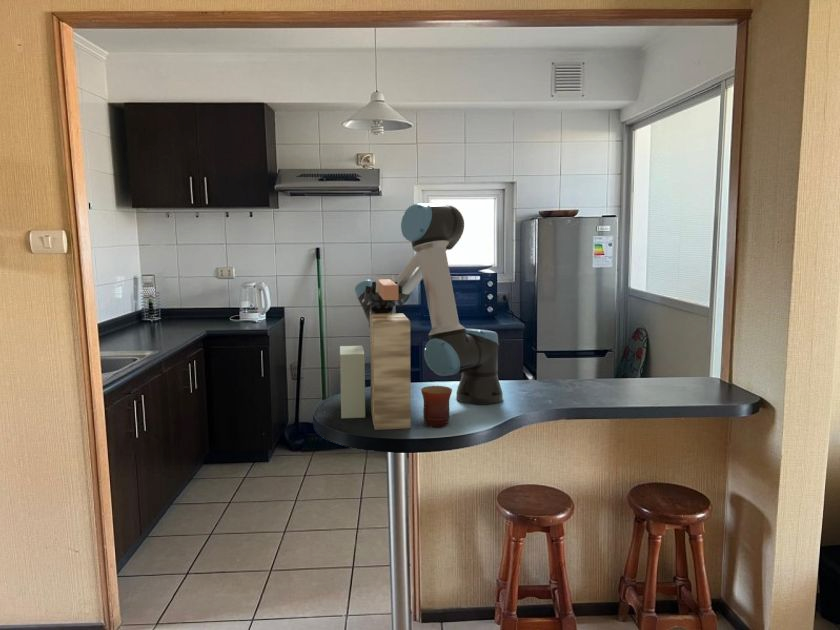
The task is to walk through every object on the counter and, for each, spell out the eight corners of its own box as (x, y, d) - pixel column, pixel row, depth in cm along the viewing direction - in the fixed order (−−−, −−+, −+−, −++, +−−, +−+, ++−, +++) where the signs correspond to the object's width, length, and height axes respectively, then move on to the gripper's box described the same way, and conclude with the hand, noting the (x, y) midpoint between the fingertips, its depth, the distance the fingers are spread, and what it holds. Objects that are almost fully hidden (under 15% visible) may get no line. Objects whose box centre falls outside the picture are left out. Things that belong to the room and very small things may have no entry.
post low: (340, 405, 190) (340, 346, 187) (363, 404, 191) (362, 345, 188) (341, 418, 176) (340, 354, 174) (365, 417, 177) (364, 354, 175)
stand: (370, 411, 183) (369, 313, 179) (403, 410, 185) (403, 313, 181) (374, 429, 166) (373, 322, 162) (410, 428, 167) (410, 321, 163)
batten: (377, 292, 190) (376, 279, 190) (389, 291, 191) (389, 279, 190) (383, 300, 163) (383, 285, 162) (398, 299, 163) (398, 285, 163)
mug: (456, 427, 168) (457, 391, 166) (427, 431, 164) (427, 394, 163) (440, 415, 179) (440, 382, 177) (412, 418, 176) (412, 384, 174)
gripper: (407, 319, 201) (414, 289, 180) (356, 321, 199) (357, 290, 178) (405, 299, 204) (413, 267, 183) (355, 300, 202) (356, 268, 181)
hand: (385, 278), depth 180 cm, fingers closed on batten, 4 cm apart
